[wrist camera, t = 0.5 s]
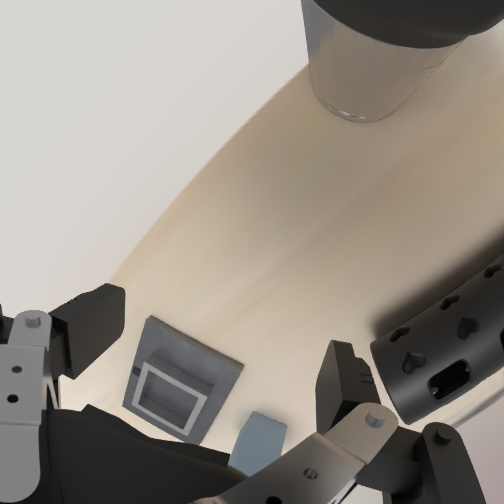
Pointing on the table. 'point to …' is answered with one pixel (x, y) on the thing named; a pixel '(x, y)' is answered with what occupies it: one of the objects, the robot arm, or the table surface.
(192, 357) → the grey metal socket plate
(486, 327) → the muzzle brake
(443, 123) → the table surface
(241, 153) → the table surface
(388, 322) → the table surface
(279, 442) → the peg
